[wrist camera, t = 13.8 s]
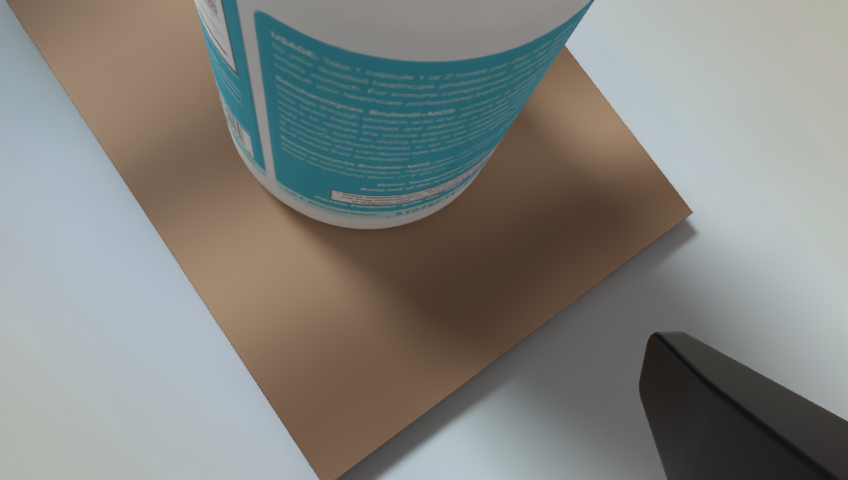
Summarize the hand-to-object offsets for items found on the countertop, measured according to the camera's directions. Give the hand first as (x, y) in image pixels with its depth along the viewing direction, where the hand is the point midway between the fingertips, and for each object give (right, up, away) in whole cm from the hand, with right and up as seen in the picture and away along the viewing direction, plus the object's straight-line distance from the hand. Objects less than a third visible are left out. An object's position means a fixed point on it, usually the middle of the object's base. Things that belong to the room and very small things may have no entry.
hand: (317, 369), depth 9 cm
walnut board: (-1, +5, +11) cm, 12 cm away
